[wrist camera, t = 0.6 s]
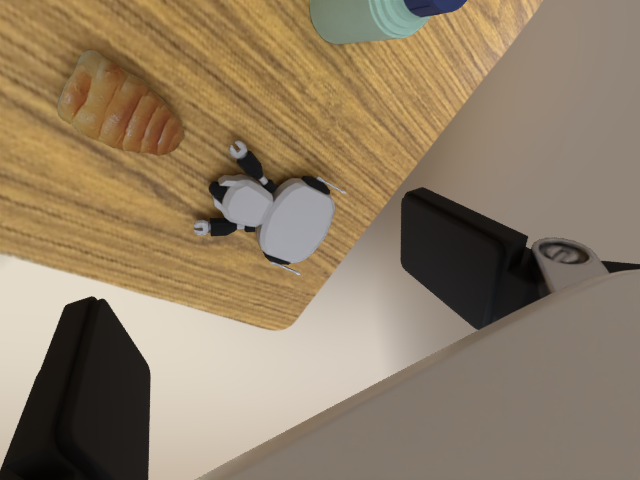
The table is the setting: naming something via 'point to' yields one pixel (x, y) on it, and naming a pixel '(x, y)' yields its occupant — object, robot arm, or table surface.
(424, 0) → the cap
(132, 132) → the pastry
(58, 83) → the table surface
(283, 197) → the robot toy
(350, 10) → the bottle
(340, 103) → the table surface
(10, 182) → the table surface
